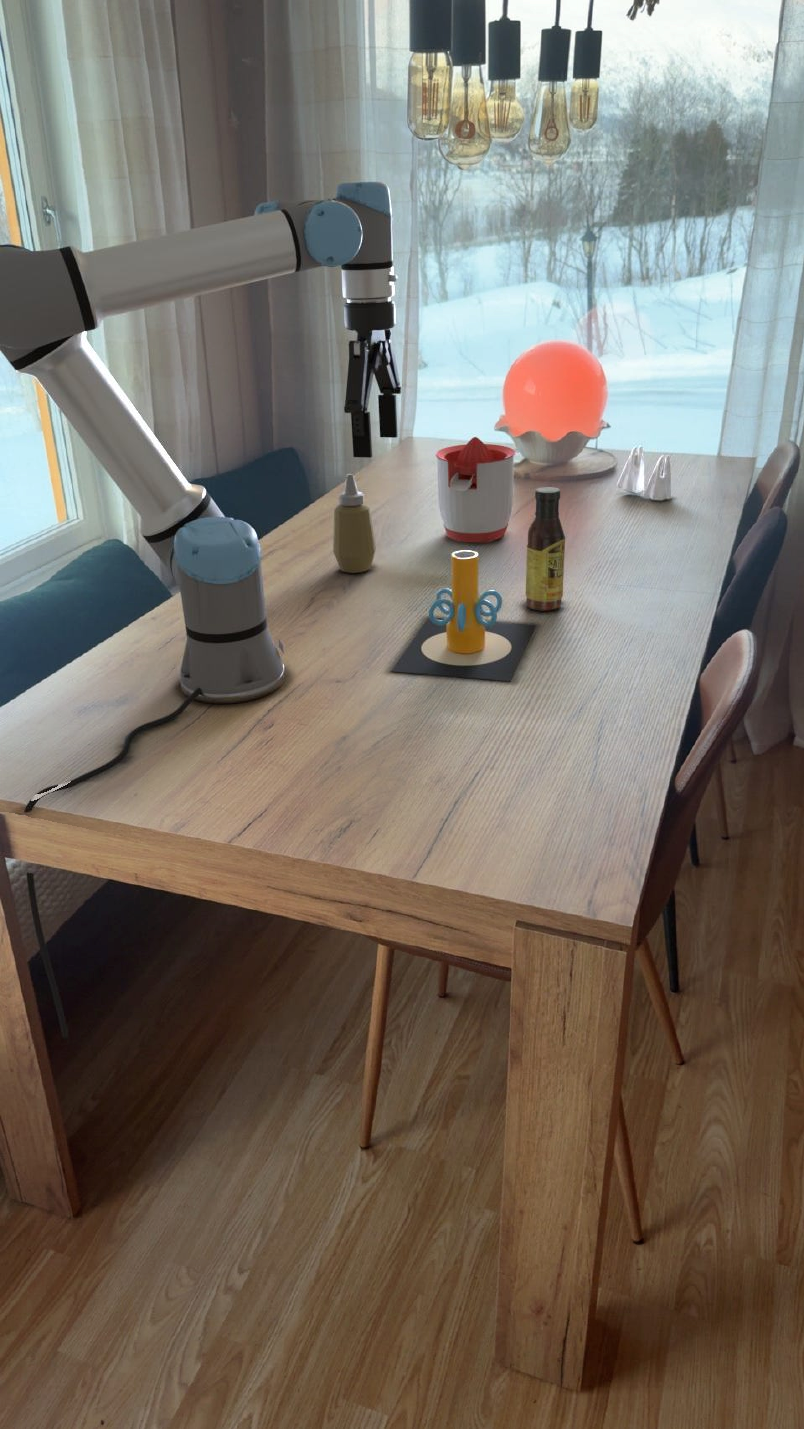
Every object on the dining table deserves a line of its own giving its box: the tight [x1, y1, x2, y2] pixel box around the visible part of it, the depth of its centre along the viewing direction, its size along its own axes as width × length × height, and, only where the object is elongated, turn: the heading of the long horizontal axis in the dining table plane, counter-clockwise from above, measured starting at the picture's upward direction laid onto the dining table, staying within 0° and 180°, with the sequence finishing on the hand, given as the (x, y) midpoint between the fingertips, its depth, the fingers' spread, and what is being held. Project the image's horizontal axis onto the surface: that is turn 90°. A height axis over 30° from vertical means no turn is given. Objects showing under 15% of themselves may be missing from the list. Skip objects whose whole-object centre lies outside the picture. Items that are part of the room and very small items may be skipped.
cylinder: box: [428, 549, 503, 654], centre depth 161 cm, size 12×10×15 cm
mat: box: [390, 617, 536, 683], centre depth 164 cm, size 22×18×1 cm
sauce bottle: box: [525, 486, 566, 612], centre depth 175 cm, size 6×6×20 cm
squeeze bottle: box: [332, 473, 377, 574], centre depth 196 cm, size 8×8×18 cm
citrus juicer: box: [435, 436, 516, 544], centre depth 210 cm, size 16×17×20 cm
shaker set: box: [616, 445, 672, 501], centre depth 234 cm, size 12×4×11 cm, turn 50°
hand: (376, 446), depth 163 cm, fingers open, 13 cm apart
